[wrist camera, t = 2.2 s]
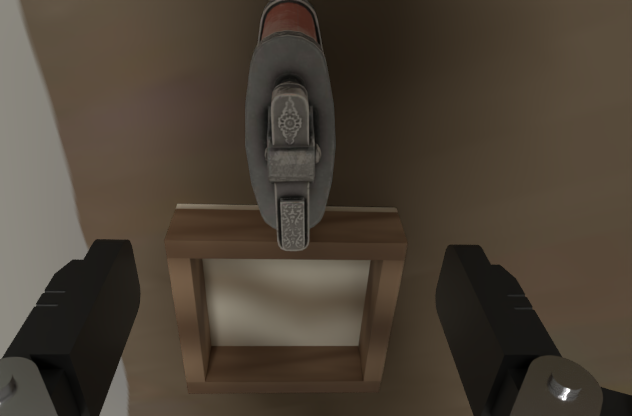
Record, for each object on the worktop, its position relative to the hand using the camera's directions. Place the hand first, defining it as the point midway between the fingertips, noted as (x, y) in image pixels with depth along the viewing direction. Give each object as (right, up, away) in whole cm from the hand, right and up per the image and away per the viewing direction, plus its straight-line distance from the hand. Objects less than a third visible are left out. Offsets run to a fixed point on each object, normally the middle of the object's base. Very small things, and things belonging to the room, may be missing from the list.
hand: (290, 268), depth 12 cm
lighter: (-1, +8, +12) cm, 15 cm away
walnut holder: (-1, -4, +20) cm, 20 cm away
